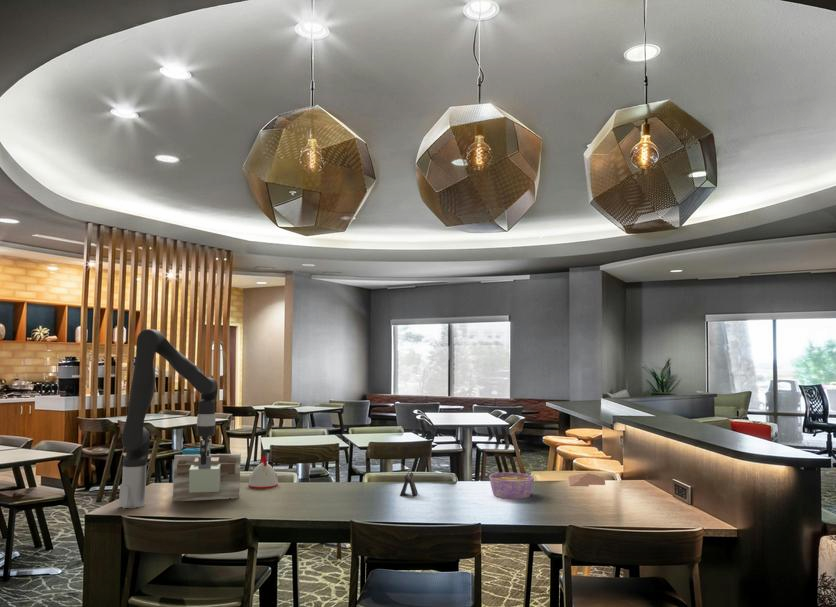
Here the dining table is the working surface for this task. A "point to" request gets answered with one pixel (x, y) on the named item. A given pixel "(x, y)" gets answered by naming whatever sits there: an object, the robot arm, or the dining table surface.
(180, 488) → the grey brown rectangular box
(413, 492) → the dark grey angled piece
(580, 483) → the house
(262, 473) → the kitchen timer
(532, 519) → the dining table surface
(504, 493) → the bowl of food
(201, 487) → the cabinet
